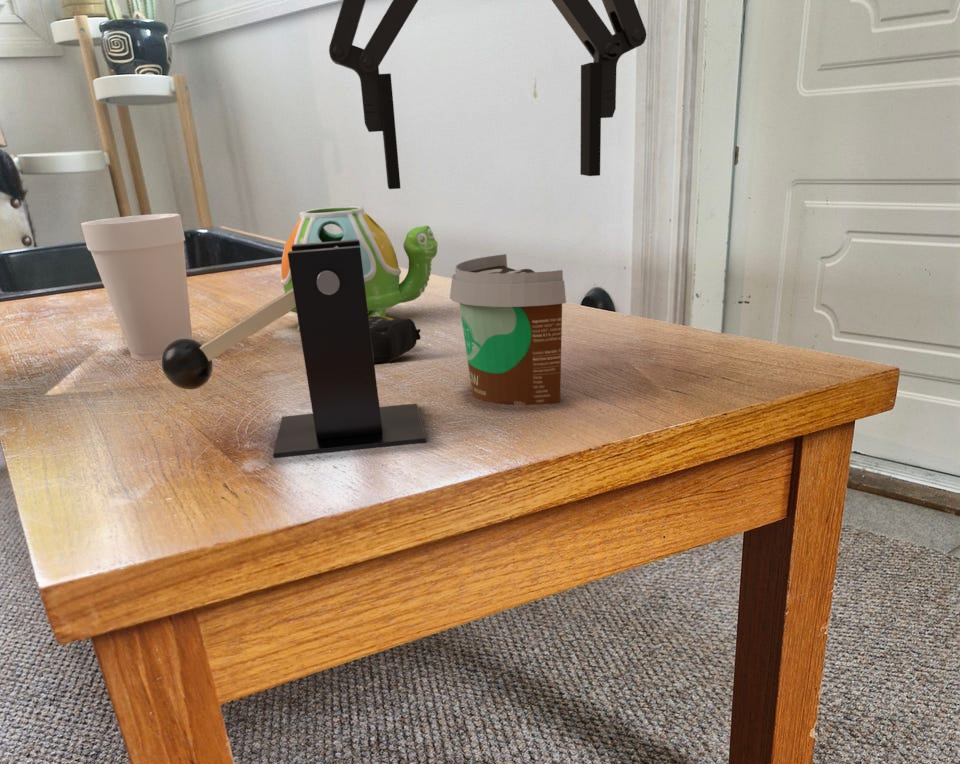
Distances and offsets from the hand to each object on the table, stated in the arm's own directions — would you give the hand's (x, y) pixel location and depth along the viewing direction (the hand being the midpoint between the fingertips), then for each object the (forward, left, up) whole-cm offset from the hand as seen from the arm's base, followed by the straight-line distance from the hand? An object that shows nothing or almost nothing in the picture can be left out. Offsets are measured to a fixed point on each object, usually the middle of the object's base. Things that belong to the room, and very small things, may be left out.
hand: (493, 182), depth 61 cm
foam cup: (-32, +33, -16) cm, 48 cm away
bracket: (-12, -6, -15) cm, 20 cm away
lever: (-16, -6, -8) cm, 19 cm away
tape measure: (-9, +19, -16) cm, 26 cm away
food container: (0, 0, -16) cm, 16 cm away
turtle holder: (-11, +42, -16) cm, 46 cm away
